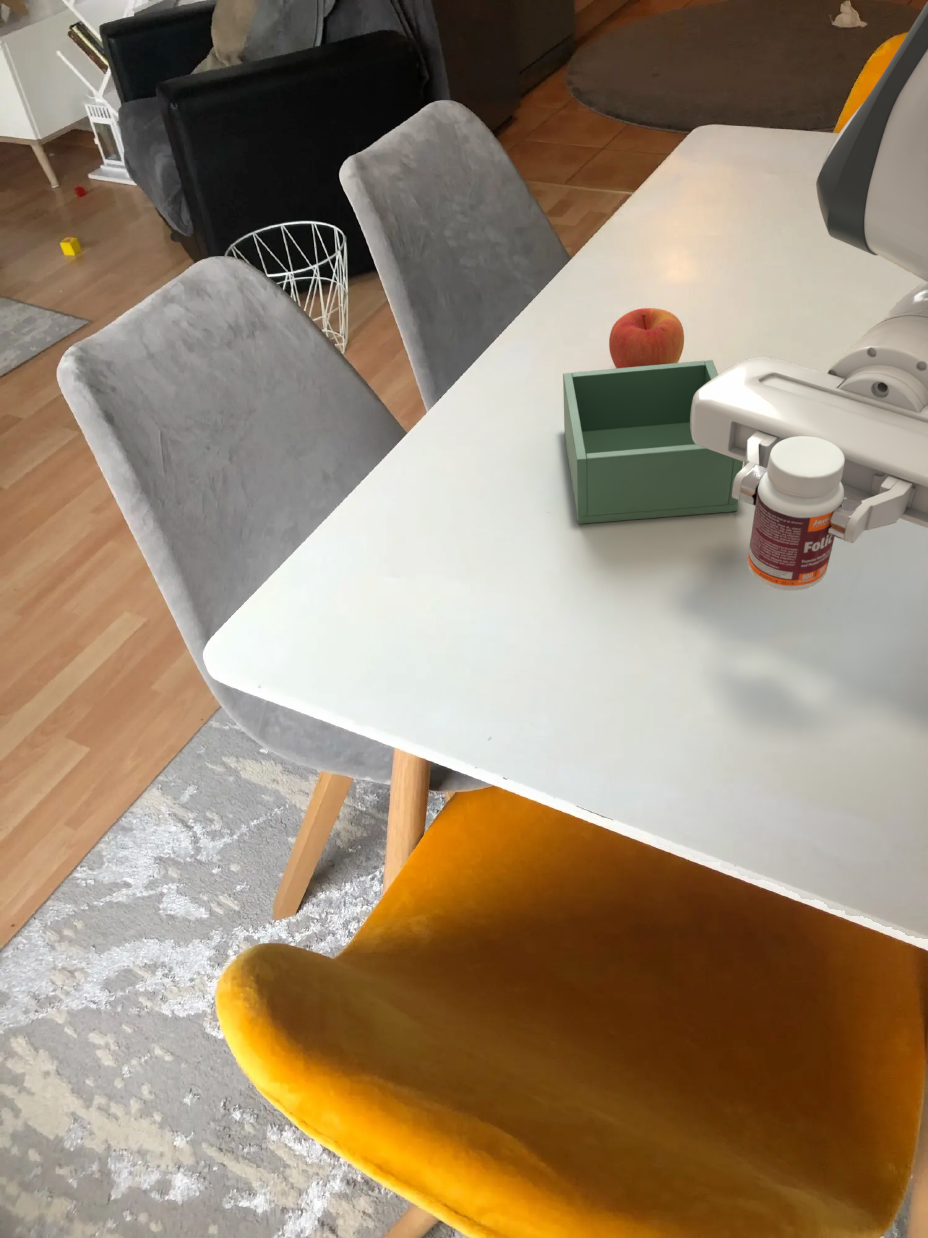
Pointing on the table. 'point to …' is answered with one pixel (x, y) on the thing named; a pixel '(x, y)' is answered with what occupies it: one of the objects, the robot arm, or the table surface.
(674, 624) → the table surface
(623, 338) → the apple
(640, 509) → the bin
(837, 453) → the pill bottle
